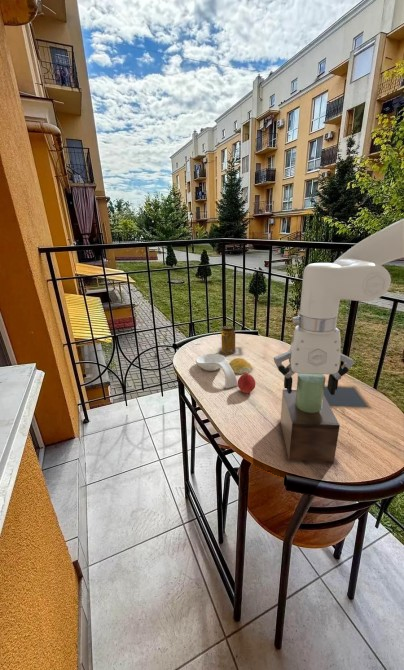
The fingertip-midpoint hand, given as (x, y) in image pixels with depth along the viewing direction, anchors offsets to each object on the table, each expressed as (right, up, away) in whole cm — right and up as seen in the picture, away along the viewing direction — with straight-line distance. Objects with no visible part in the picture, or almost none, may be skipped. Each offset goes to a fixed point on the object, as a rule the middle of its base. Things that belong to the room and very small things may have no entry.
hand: (309, 391), depth 66 cm
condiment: (-13, +5, +59) cm, 60 cm away
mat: (+19, -7, +23) cm, 30 cm away
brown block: (+1, -14, +5) cm, 15 cm away
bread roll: (-11, 0, +44) cm, 45 cm away
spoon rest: (-19, -2, +41) cm, 45 cm away
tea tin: (0, -4, +1) cm, 4 cm away
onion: (-11, -6, +28) cm, 30 cm away
